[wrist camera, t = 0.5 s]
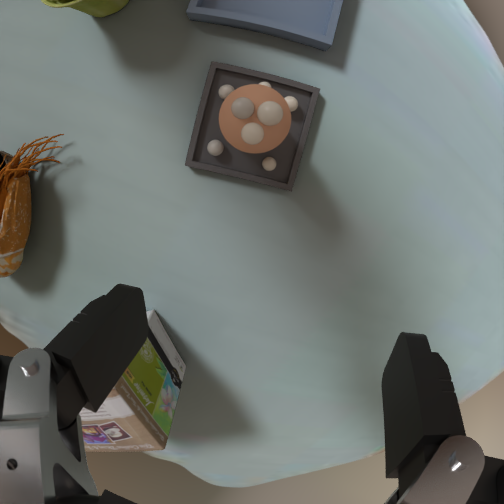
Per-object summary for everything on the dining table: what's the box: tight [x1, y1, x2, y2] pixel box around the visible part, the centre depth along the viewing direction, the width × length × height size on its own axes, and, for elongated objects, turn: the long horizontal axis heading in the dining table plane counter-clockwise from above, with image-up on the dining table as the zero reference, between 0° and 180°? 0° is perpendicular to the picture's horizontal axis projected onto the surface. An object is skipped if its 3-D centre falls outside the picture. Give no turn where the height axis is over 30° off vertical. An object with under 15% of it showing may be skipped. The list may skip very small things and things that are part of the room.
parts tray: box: [185, 62, 320, 191], centre depth 30 cm, size 11×11×2 cm
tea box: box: [79, 310, 186, 452], centre depth 33 cm, size 15×10×15 cm
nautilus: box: [0, 134, 64, 277], centre depth 29 cm, size 8×22×15 cm
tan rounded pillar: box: [219, 84, 291, 153], centre depth 25 cm, size 5×5×11 cm
